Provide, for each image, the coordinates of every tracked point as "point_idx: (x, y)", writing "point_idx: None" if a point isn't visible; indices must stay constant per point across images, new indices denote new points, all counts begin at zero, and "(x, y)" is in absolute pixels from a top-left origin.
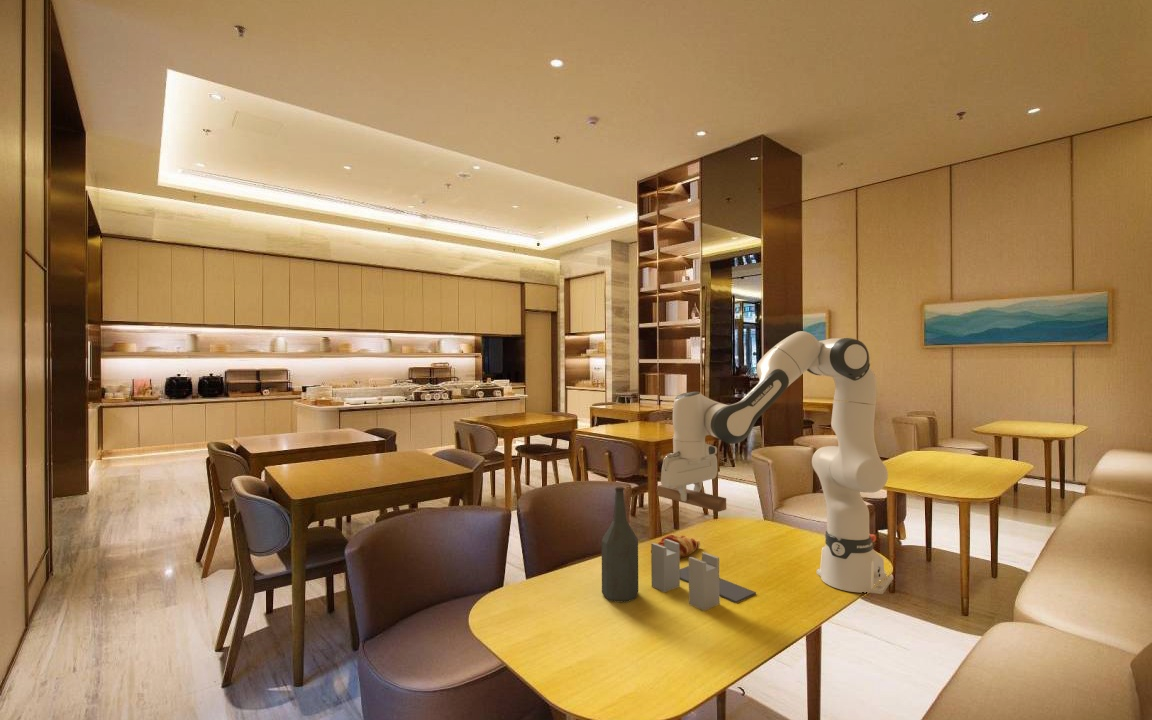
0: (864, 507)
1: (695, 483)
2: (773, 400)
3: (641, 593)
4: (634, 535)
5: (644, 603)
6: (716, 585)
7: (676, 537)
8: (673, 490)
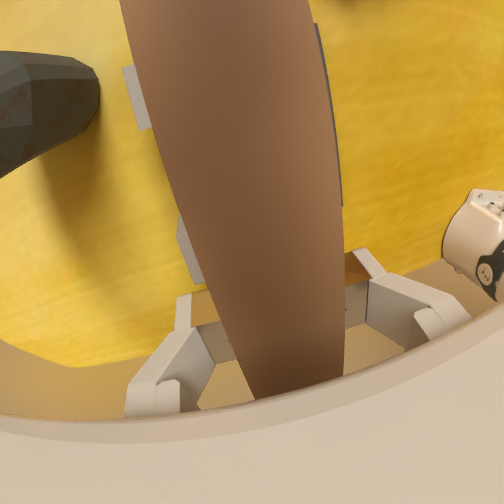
0: None
1: (414, 343)
2: None
3: (108, 104)
4: (7, 142)
5: (93, 153)
6: None
7: None
8: (171, 182)
